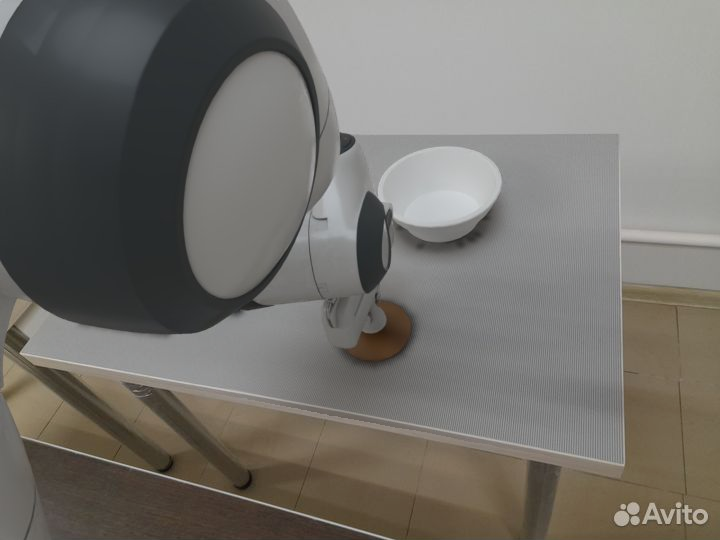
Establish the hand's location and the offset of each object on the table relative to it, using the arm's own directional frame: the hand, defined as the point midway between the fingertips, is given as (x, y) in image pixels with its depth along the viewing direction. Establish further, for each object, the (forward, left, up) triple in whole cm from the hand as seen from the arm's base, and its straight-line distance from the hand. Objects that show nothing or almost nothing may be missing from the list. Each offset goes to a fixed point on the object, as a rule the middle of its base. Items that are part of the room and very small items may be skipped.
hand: (370, 311), depth 77 cm
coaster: (0, 0, -5) cm, 5 cm away
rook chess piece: (0, 0, -3) cm, 3 cm away
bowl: (+26, -5, -6) cm, 27 cm away
